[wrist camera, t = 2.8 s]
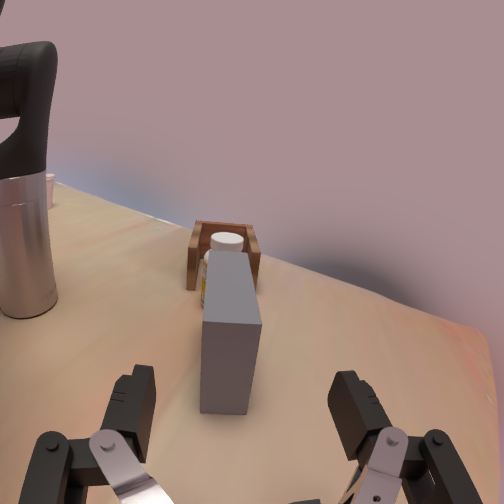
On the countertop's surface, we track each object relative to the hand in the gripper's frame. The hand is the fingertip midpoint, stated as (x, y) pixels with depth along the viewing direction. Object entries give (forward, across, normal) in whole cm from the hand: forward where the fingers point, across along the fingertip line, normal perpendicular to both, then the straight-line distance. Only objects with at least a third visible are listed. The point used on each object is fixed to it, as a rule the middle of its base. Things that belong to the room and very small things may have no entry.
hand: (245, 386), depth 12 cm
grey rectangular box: (+14, 0, +12) cm, 19 cm away
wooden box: (+36, 0, +12) cm, 38 cm away
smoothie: (+69, +52, +11) cm, 87 cm away
